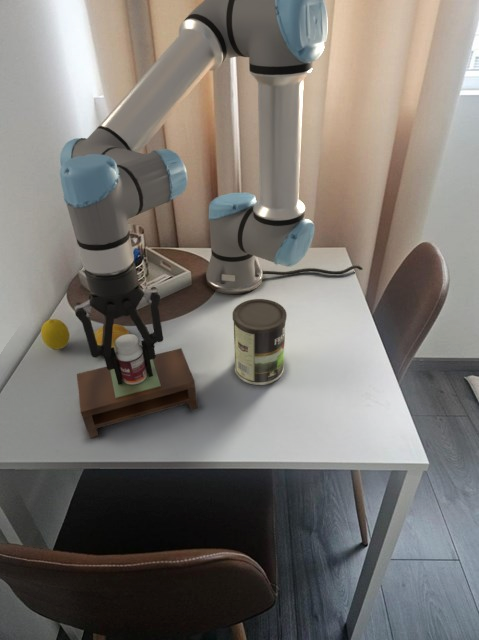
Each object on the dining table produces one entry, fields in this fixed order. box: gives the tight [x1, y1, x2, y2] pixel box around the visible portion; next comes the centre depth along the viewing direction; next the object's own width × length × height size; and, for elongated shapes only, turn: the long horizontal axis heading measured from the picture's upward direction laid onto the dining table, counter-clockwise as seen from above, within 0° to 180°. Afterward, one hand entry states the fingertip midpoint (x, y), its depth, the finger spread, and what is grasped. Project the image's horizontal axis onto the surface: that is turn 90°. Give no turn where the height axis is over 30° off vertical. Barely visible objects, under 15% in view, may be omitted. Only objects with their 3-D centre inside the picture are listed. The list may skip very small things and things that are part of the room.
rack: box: [76, 347, 198, 439], centre depth 83 cm, size 20×10×7 cm, turn 110°
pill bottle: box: [115, 333, 148, 385], centre depth 79 cm, size 5×5×8 cm
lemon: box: [40, 318, 70, 350], centre depth 97 cm, size 6×6×8 cm
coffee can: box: [232, 298, 287, 386], centre depth 89 cm, size 10×10×14 cm
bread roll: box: [94, 323, 130, 353], centre depth 99 cm, size 8×9×4 cm
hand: (134, 375), depth 81 cm, fingers closed on pill bottle, 5 cm apart
